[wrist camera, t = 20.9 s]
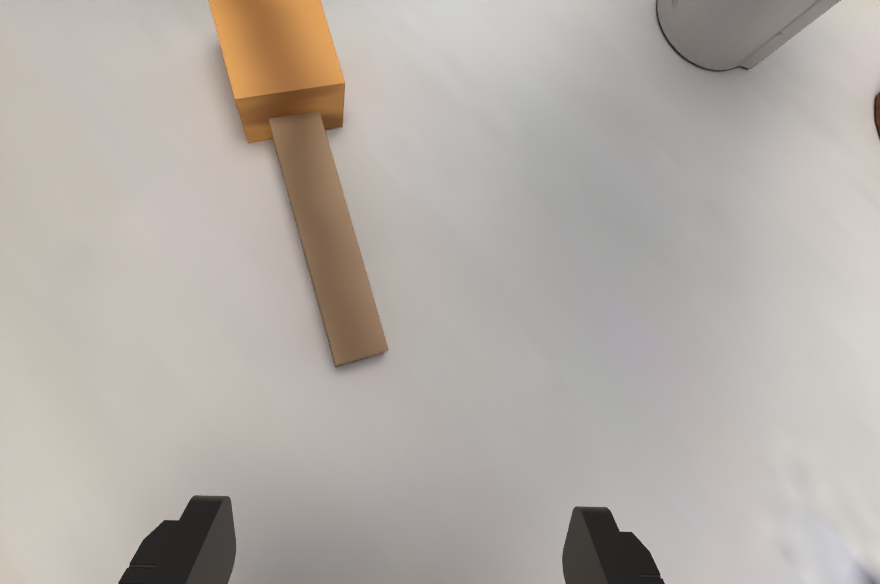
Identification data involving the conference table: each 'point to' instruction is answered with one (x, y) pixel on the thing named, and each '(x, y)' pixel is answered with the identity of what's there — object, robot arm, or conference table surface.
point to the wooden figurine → (878, 112)
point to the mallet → (303, 149)
